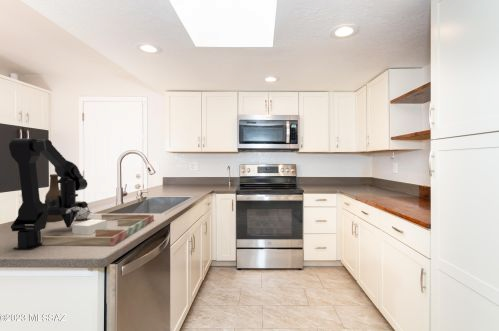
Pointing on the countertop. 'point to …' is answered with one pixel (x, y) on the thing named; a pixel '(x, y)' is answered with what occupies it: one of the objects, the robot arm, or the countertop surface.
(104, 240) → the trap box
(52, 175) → the beer bottle
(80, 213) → the geometric wire polyhedron
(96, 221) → the white rectangular box
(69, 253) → the countertop surface
